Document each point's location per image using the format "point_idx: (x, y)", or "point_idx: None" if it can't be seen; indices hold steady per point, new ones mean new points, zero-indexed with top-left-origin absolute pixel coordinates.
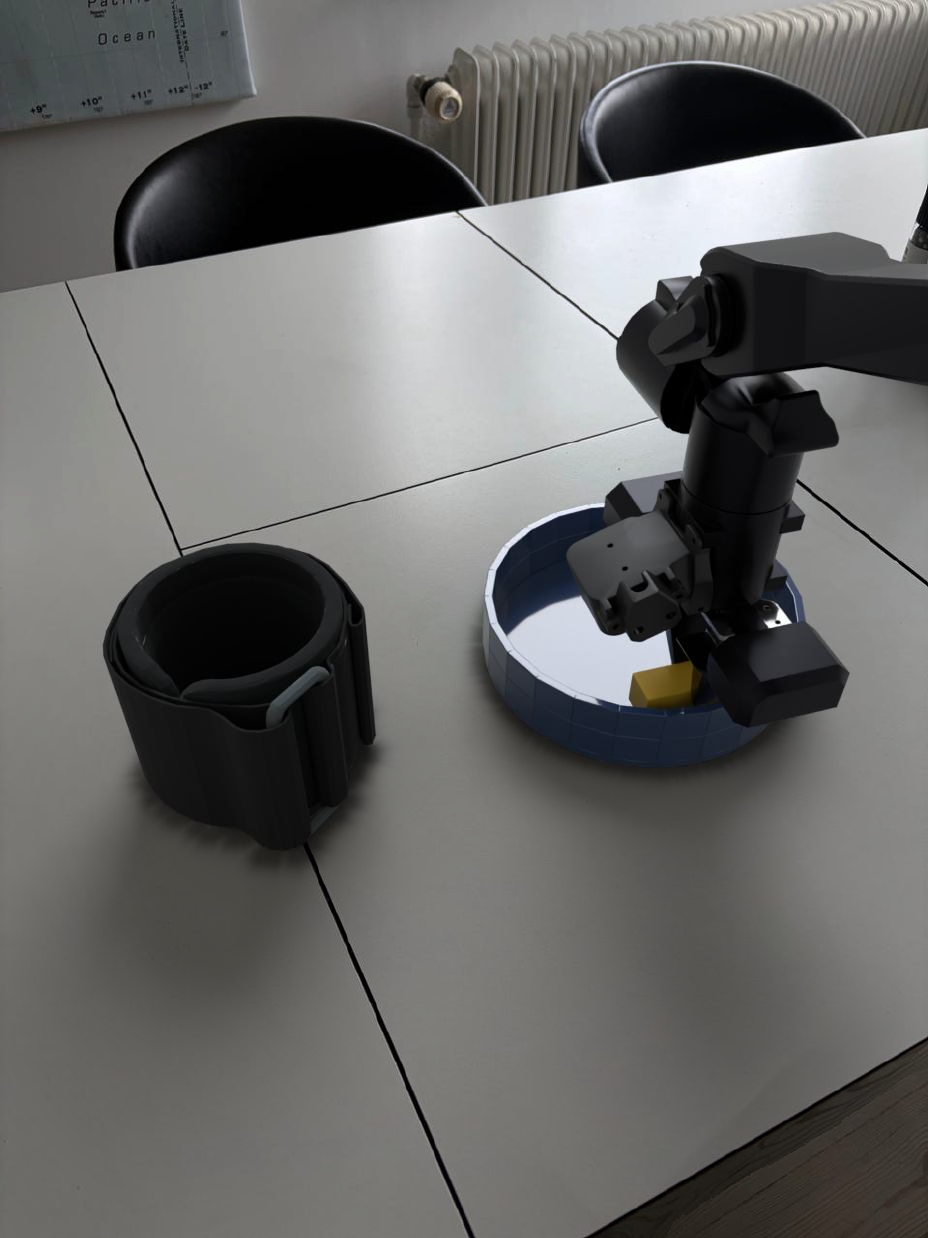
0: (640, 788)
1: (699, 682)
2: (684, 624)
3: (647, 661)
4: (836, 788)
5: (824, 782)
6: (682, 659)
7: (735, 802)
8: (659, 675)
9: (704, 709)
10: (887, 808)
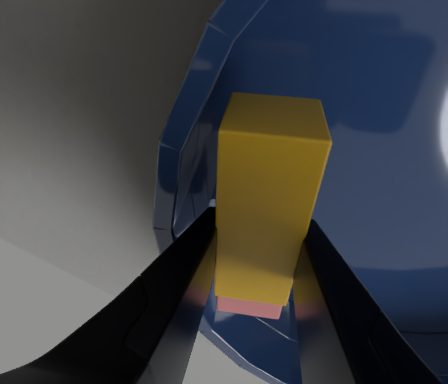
0: (169, 27)
1: (143, 273)
2: (330, 365)
3: (416, 183)
4: (125, 251)
5: (134, 246)
6: (301, 258)
7: (119, 154)
8: (286, 195)
9: (162, 221)
10: (96, 269)
